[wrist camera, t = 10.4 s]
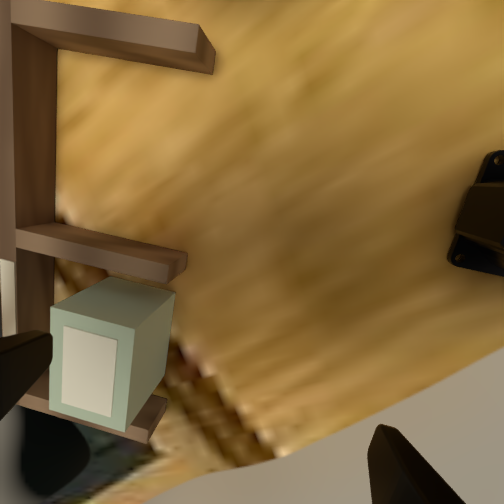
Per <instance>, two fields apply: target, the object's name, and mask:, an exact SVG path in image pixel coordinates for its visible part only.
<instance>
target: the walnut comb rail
mask: <svg viewBox="0 0 504 504" xmlns="http://www.w3.org/2000/svg"><path fill="white" fill-rule="evenodd" d="M57 48H59V49H65V50H71V51H77V52H83V53H89V54H94V55H100V56H106V57H112V58H118V59H124V60H130V61H135V62H141V63H147V64H153V65H159V66H165V67H170V68H176V69H182V70H188V71H194V72H200V73H206V74H211V75H213V68H214V61H215V54H216V51H215V49H214V48H213V46H212V45H211V43H210V41H209V40H208V38H207V37H206V35H205V33H204V32H203V30H202V29H201V27H200V25H199V24H193V23H187V22H180V21H174V20H167V19H161V18H154V17H148V16H141V15H135V14H128V13H122V12H115V11H109V10H102V9H96V8H89V7H83V6H76V5H70V4H63V3H57V2H50V1H44V0H0V286H1V312H2V337H5V336H10V335H14V334H19V333H23V332H27V331H32V330H42V331H45V332H49V333H50V307H51V306H53V295H54V257H57V258H62V259H66V260H70V261H74V262H78V263H82V264H86V265H90V266H94V267H98V268H102V269H106V270H110V271H114V272H118V273H122V274H126V275H131V276H135V277H139V278H143V279H147V280H151V281H155V282H159V283H163V284H168V283H169V282H170V281H171V280H173V279H174V278H175V277H176V276H178V275H179V274H180V273H182V272H183V271H184V270H185V268H186V260H187V253H185V252H180V251H176V250H172V249H168V248H163V247H159V246H155V245H150V244H146V243H142V242H138V241H133V240H129V239H125V238H120V237H116V236H112V235H108V234H103V233H99V232H95V231H91V230H86V229H82V228H78V227H73V226H69V225H65V224H61V223H56V222H55V154H56V84H57ZM49 377H50V366H49V367H48V369H47V370H46V371H45V372H44V373H43V374H42V375H41V376H40V378H39V379H38V380H37V381H36V382H35V383H34V384H33V385H32V387H31V388H30V389H29V390H28V391H27V392H26V393H25V394H24V396H23V397H22V398H21V399H20V400H19V401H18V402H17V403H16V404H17V405H21V406H24V407H27V408H31V409H34V410H37V411H40V412H44V413H47V414H50V415H54V416H57V417H60V418H64V419H67V420H70V421H73V422H77V423H80V424H83V425H86V426H90V427H93V428H96V429H100V430H103V431H106V432H110V433H113V434H116V435H119V436H123V437H126V438H129V439H133V440H136V441H139V442H142V443H146V444H147V442H148V441H149V439H150V437H151V435H152V434H153V432H154V430H155V428H156V427H157V425H158V423H159V421H160V420H161V418H162V416H163V414H164V413H165V410H166V403H167V399H165V398H161V397H158V396H154V395H150V397H149V398H148V400H147V401H146V402H145V404H144V405H143V407H142V408H141V410H140V411H139V413H138V414H137V415H136V417H135V418H134V420H133V421H132V423H131V424H130V426H129V427H128V429H127V430H126V431H125V432H121V431H118V430H115V429H111V428H108V427H105V426H102V425H98V424H95V423H92V422H89V421H85V420H82V419H79V418H75V417H72V416H69V415H66V414H62V413H59V412H56V411H53V410H49Z"/></svg>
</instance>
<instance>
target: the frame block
mask: <svg viewBox="0 0 504 504" xmlns="http://www.w3.org/2000/svg"><path fill="white" fill-rule="evenodd" d="M175 294H176V292H172V291H168V290H164V289H160V288H156V287H152V286H148V285H144V284H140V283H136V282H132V281H128V280H124V279H120V278H116V277H112V276H110V277H108V278H106V279H104V280H102V281H100V282H98V283H96V284H94V285H93V286H91V287H89V288H87V289H85V290H83V291H81V292H79V293H77V294H75V295H73V296H71V297H69V298H67V299H65V300H63V301H61V302H59V303H57V304H55V305H53V306H51V307H50V333H51V334H52V336H53V359H52V362H51V364H50V377H49V410H53V411H56V412H59V413H62V414H66V415H69V416H72V417H75V418H79V419H82V420H85V421H89V422H92V423H95V424H98V425H102V426H105V427H108V428H111V429H115V430H118V431H121V432H125V431H126V430H127V429H128V427H129V426H130V424H131V423H132V421H133V420H134V418H135V417H136V415H137V414H138V413H139V411H140V410H141V408H142V407H143V405H144V404H145V402H146V401H147V400H148V398H149V397H150V395H151V394H152V392H153V391H154V389H155V388H156V386H157V385H158V384H159V382H160V381H161V379H162V378H163V376H164V375H165V368H166V361H167V353H168V346H169V339H170V331H171V324H172V316H173V309H174V301H175Z"/></svg>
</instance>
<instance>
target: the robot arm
mask: <svg viewBox="0 0 504 504" xmlns="http://www.w3.org/2000/svg"><path fill="white" fill-rule="evenodd" d="M497 156H499V158H500V162H499V163H498V164H497V165H496V164H495V162H494V159H495V158H496V157H497ZM455 230H456V235H455V238H454V240H453V243H452V245H451V248H450V250H449V253H448V257H447V259H448V261H449V262H450V263H451V264H453V265H455V266H457V267H462V268H466V269H471V270H475V271H480V272H484V273H489V274H494V275H498V276H503V277H504V150H498V151H493V152H491V153H489V154H488V155H487V156H486V158H485V160H484V163H483V165H482V168H481V170H480V173H479V176H478V178H477V181H476V183H475V185H473V186H472V187H471V188H470V191H469V193H468V196H467V198H466V201H465V204H464V206H463V209H462V211H461V214H460V217H459V219H458V222H457V224H456V227H455ZM459 254H461V259H460V260H458V261H456V260H455V258H456V256H457V255H459ZM52 359H53V336H52V334H51V333H49V332H45V331H42V330H32V331H27V332H23V333H19V334H14V335H10V336H5V337H1V338H0V421H1V419H3V417H4V416H5V415H6V414H7V413H8V412H9V411H10V410H11V409H12V408H13V407H14V406H15V404H16V403H17V402H18V401H19V400H20V399H21V398H22V397H23V396H24V394H25V393H26V392H27V391H28V390H29V389H30V388H31V387H32V385H33V384H34V383H35V382H36V381H37V380H38V379H39V378H40V376H41V375H42V374H43V373H44V372H45V371H46V370H47V369H48V367H49V366H50V364H51V362H52ZM367 456H368V457H367V459H368V469H369V478H370V487H371V497H372V504H466V503H465V502H464V501H463V500H462V499H461V498H460V497H459V496H458V495H457V494H456V492H455V491H454V490H453V489H452V488H451V487H450V486H449V485H448V484H447V483H446V482H445V480H444V479H443V478H442V477H441V476H440V475H439V474H438V473H437V472H436V471H435V470H434V469H433V467H432V466H431V465H430V464H429V463H428V462H427V461H426V460H425V459H424V458H423V457H422V455H421V454H420V453H419V452H418V451H417V450H416V449H415V448H414V447H413V446H412V444H411V443H409V441H408V440H407V439H406V438H405V437H404V436H403V435H402V434H401V433H400V431H399V430H398V429H396V428H394V427H391V426H387V425H383V424H379V425H378V426H377V428H376V430H375V433H374V435H373V438H372V440H371V443H370V446H369V448H368V454H367Z"/></svg>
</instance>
